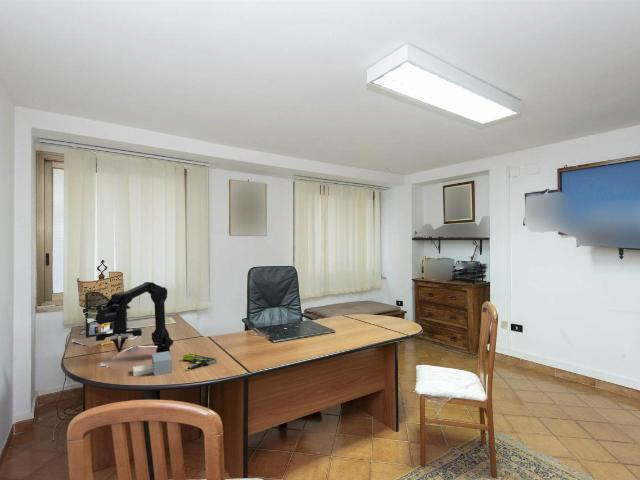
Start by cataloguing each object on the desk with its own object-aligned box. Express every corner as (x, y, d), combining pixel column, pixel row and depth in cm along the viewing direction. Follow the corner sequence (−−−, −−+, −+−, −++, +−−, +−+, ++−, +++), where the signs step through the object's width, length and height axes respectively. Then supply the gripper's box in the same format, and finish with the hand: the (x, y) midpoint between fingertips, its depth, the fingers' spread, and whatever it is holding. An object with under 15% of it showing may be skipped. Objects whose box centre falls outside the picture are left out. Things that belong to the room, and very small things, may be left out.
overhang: (168, 363, 177) (168, 351, 177) (171, 372, 165) (171, 359, 165) (152, 366, 173) (152, 353, 173) (153, 375, 161) (154, 362, 161)
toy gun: (168, 362, 170) (187, 351, 184) (168, 370, 170) (187, 358, 185) (201, 368, 165) (218, 356, 179) (201, 376, 165) (218, 363, 180)
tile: (163, 366, 174) (163, 361, 174) (165, 371, 168) (165, 366, 168) (132, 372, 166) (132, 367, 166) (133, 377, 160) (133, 371, 160)
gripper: (141, 314, 171) (140, 344, 171) (97, 318, 162) (97, 350, 162) (141, 318, 162) (141, 350, 162) (95, 323, 152) (95, 357, 152)
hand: (119, 351), depth 160 cm, fingers closed
